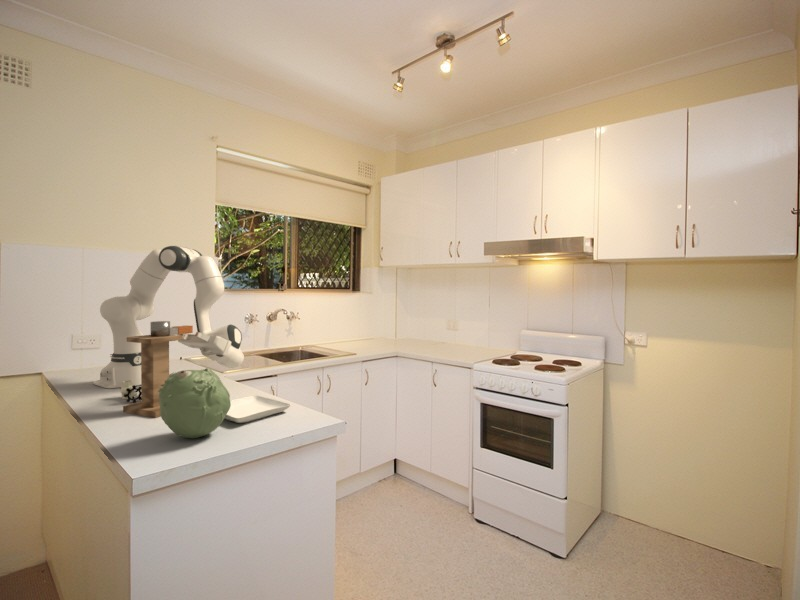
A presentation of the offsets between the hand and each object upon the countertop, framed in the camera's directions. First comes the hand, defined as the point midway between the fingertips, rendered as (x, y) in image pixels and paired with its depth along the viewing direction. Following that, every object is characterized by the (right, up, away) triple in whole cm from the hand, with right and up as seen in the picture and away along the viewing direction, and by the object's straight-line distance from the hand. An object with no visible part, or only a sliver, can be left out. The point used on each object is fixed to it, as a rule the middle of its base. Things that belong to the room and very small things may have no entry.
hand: (187, 333), depth 155 cm
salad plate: (+28, -27, -14) cm, 42 cm away
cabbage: (+21, -27, -36) cm, 50 cm away
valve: (-23, -26, +1) cm, 34 cm away
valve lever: (-2, 0, -6) cm, 6 cm away
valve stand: (-5, -26, -12) cm, 29 cm away
